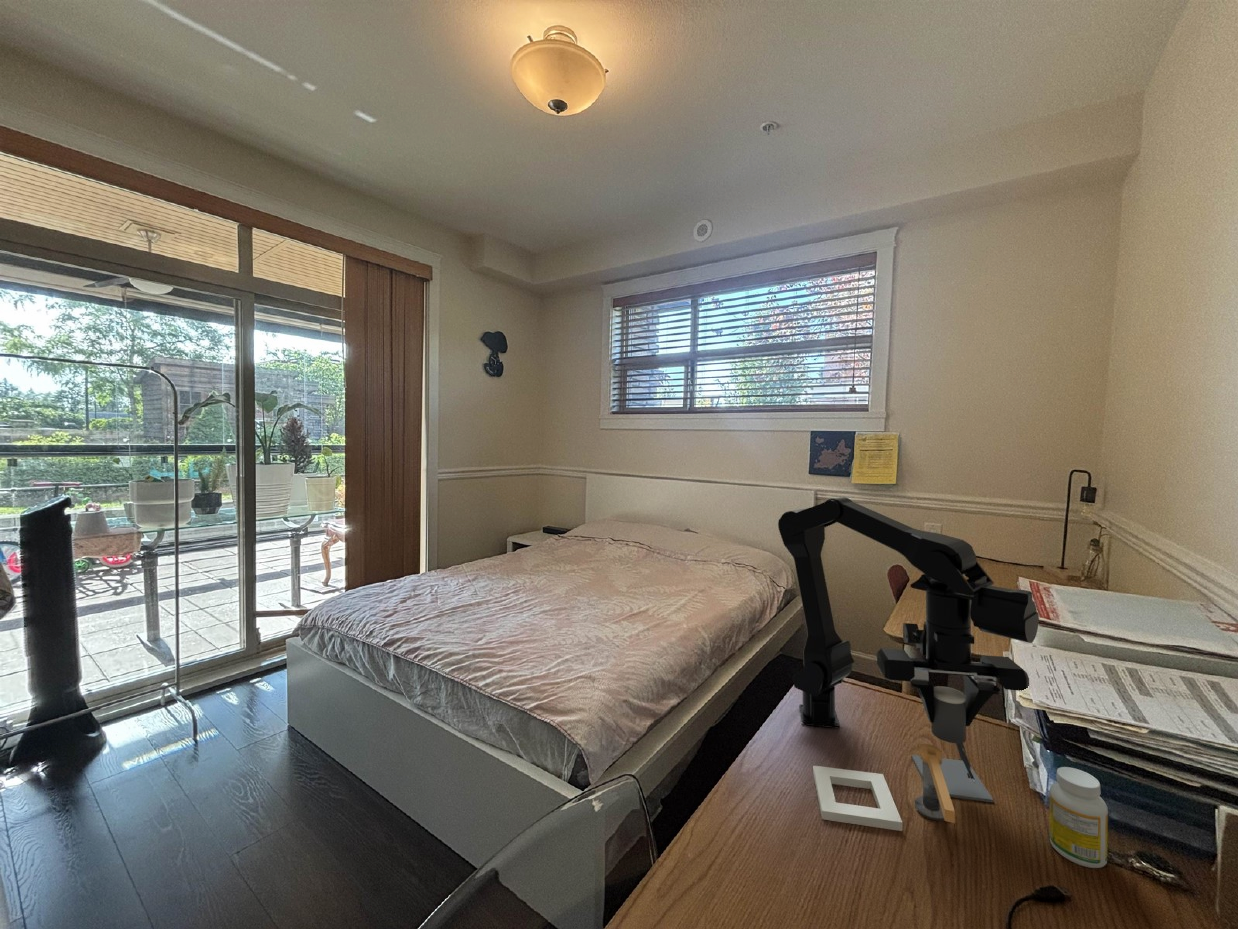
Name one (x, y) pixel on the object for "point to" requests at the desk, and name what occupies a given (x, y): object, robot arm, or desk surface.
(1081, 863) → the supplement bottle
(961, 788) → the mat
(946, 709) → the plug
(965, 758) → the black pen
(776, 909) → the desk surface
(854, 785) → the socket block
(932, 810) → the post
